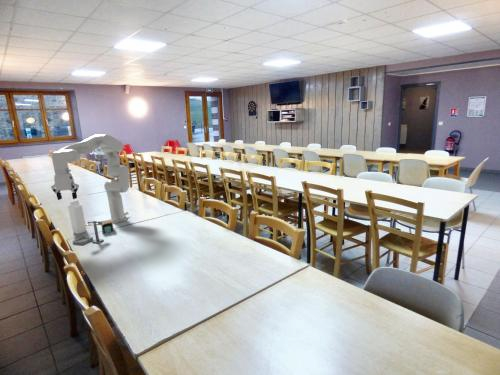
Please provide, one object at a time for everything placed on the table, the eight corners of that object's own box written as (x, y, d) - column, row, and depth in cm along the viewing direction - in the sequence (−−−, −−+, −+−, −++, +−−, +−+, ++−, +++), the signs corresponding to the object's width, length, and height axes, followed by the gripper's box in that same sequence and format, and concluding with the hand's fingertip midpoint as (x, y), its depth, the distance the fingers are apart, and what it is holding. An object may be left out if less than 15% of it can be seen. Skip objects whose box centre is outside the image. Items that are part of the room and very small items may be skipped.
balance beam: (82, 225, 183) (82, 221, 183) (100, 224, 195) (100, 220, 196) (88, 225, 181) (88, 221, 182) (105, 225, 194) (105, 221, 194)
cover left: (102, 230, 211) (100, 221, 210) (113, 228, 214) (111, 219, 213) (102, 233, 205) (101, 224, 204) (113, 231, 208) (112, 222, 207)
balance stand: (92, 242, 190) (89, 224, 188) (97, 240, 194) (94, 222, 191) (98, 243, 189) (95, 225, 186) (103, 240, 192) (100, 223, 190)
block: (105, 231, 211) (104, 225, 210) (111, 229, 212) (110, 224, 211) (105, 232, 207) (104, 227, 206) (111, 231, 209) (110, 226, 208)
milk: (73, 232, 210) (66, 202, 205) (81, 229, 216) (75, 199, 211) (79, 233, 208) (72, 202, 203) (87, 230, 213) (81, 200, 208)
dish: (83, 238, 198) (83, 236, 198) (93, 239, 195) (92, 237, 195) (73, 243, 191) (72, 241, 190) (82, 244, 188) (82, 242, 188)
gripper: (79, 170, 188) (84, 196, 191) (52, 171, 189) (58, 198, 192) (72, 172, 180) (77, 200, 184) (44, 173, 181) (49, 201, 185)
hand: (67, 199), depth 188 cm, fingers open, 9 cm apart
